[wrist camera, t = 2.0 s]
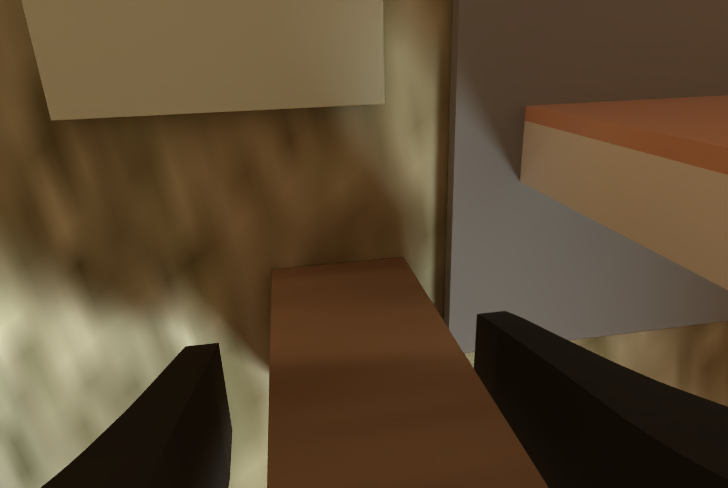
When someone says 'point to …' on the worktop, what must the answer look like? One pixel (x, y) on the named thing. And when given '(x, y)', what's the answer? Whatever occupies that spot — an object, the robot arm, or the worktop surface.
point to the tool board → (205, 55)
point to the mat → (539, 212)
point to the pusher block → (378, 388)
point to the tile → (640, 172)
